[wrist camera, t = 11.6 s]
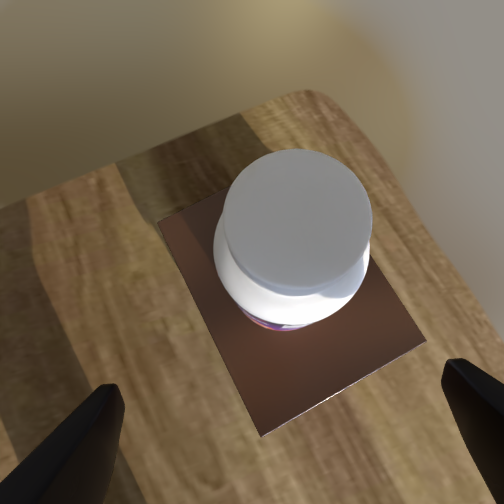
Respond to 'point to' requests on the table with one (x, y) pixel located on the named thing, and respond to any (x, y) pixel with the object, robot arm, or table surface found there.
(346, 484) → the table surface
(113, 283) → the table surface
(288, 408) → the cabinet
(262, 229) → the pill bottle
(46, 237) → the table surface
